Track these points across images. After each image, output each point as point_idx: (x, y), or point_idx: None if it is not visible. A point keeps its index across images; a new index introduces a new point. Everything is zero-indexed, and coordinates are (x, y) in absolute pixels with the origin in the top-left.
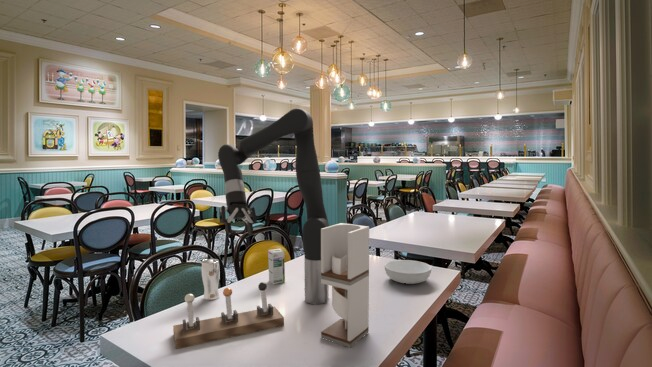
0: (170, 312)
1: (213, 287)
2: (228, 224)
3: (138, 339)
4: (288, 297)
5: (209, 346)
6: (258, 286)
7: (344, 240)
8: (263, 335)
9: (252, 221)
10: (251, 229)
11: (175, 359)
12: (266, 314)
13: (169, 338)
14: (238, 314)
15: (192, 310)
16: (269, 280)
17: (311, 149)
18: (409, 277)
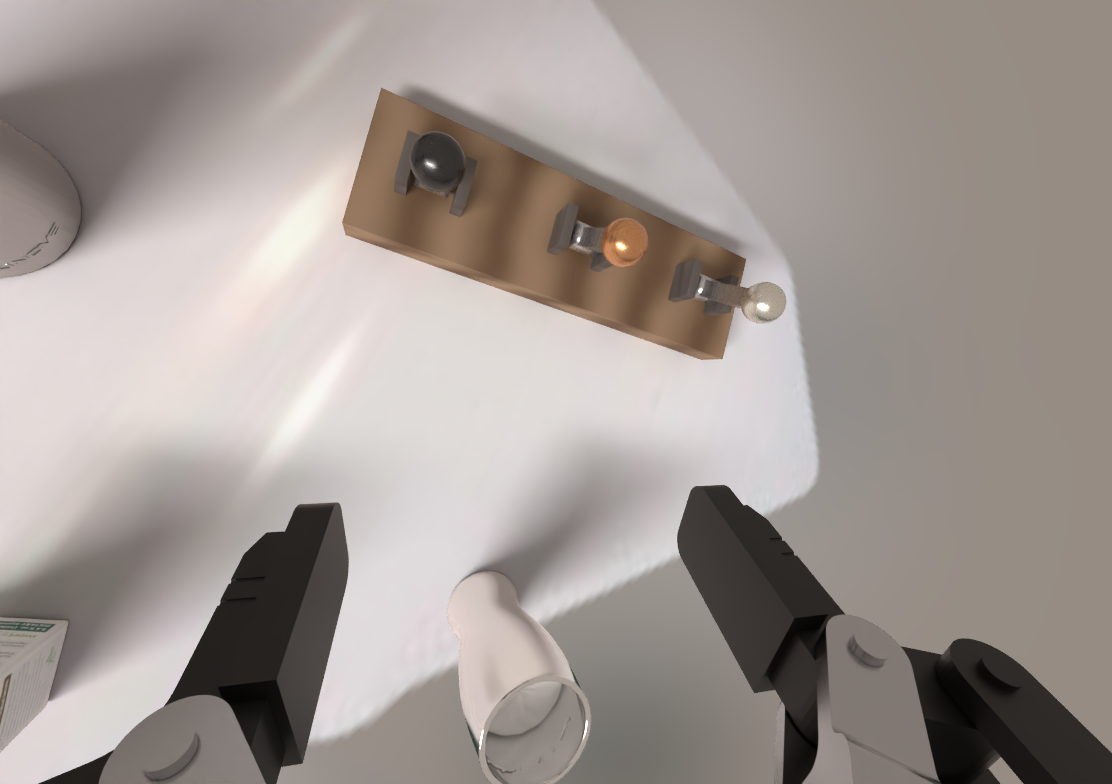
0: (656, 539)
1: (498, 601)
2: (810, 612)
3: (771, 398)
4: (130, 363)
5: (656, 205)
6: (465, 171)
7: None
8: (493, 119)
9: (117, 771)
10: (295, 544)
11: (741, 213)
12: None
13: None
14: (523, 273)
15: (730, 285)
16: (48, 695)
17: None
18: None
